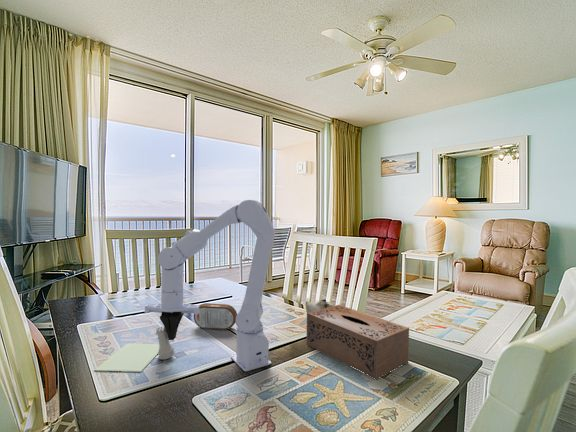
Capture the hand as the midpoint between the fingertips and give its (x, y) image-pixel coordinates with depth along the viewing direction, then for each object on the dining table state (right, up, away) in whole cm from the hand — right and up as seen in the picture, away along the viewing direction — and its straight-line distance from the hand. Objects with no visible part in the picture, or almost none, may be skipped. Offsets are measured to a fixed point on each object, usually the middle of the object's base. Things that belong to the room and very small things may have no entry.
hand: (172, 338), depth 89 cm
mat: (-11, -5, +1) cm, 12 cm away
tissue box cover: (+52, -7, +5) cm, 52 cm away
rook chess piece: (-1, -5, 0) cm, 5 cm away
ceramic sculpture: (+46, -6, +30) cm, 55 cm away
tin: (+7, -5, +22) cm, 24 cm away
